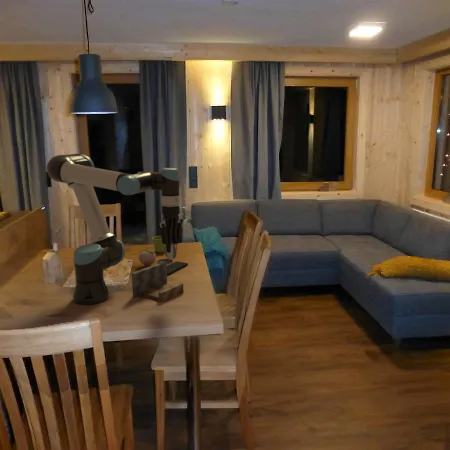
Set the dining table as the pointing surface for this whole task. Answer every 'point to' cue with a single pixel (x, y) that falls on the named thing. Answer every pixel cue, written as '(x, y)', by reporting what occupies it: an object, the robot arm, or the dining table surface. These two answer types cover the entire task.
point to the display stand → (154, 283)
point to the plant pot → (158, 244)
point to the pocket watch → (167, 261)
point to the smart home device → (175, 267)
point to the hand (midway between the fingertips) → (171, 258)
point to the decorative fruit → (147, 257)
